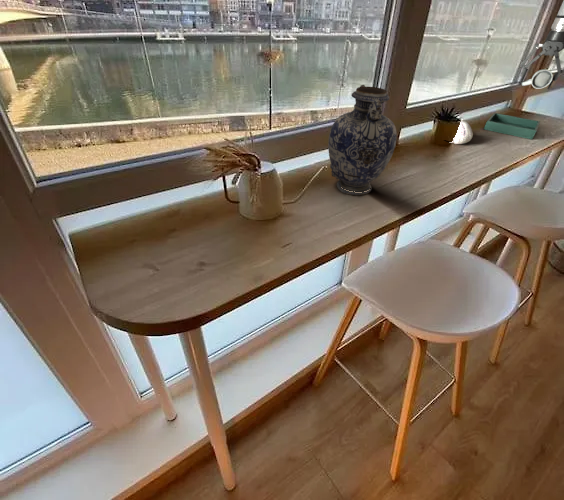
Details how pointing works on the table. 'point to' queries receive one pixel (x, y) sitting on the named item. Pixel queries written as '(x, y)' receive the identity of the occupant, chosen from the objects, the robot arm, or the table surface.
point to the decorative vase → (361, 142)
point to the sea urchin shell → (463, 133)
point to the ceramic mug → (540, 79)
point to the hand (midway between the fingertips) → (534, 86)
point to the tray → (512, 125)
